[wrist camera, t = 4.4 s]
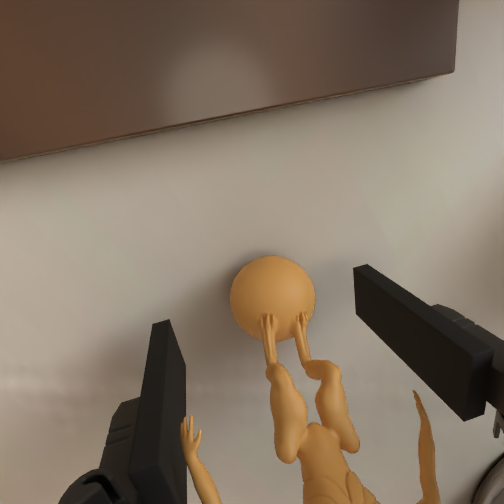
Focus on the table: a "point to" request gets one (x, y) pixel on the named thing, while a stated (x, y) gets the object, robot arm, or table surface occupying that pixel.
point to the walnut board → (199, 61)
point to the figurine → (291, 401)
